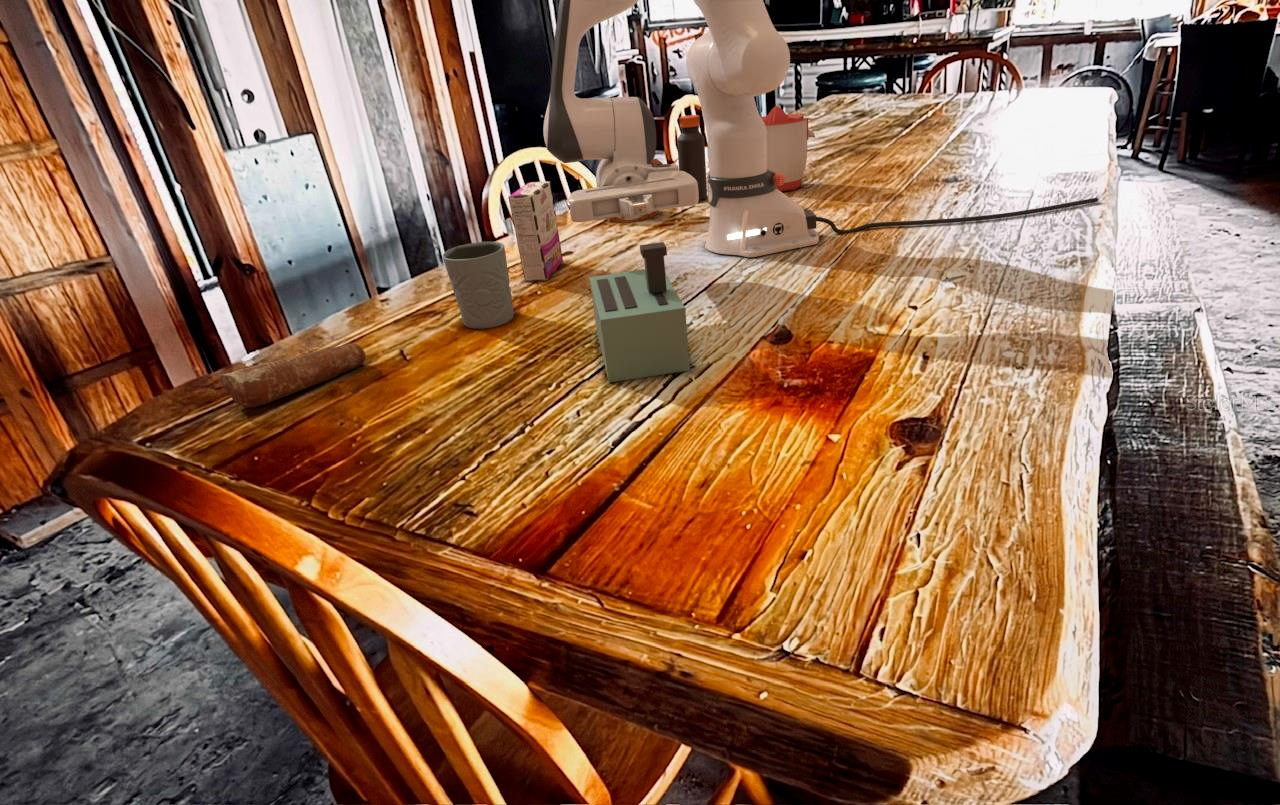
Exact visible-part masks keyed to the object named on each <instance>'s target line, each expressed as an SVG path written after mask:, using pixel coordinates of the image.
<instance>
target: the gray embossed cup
mask: <svg viewBox="0 0 1280 805" xmlns="http://www.w3.org/2000/svg"><path fill="white" fill-rule="evenodd" d="M442 260H443V263H444V266H445V269H446V272H447V275H448V279H449V282H450V285H451V288H452V291H453V294H454V295H455V300H456V303H457V307H458V309H459V313H460V315H461V320H462V323H463V325H464V326H465V327H466V328H468V329H469V328H470V329H474V330H476V329H479V330H482V329H483V330H484V329H492V328H495V327H499V326H502V325H505V324H507V323H509V322H510V321H511V320H513V319H514V317H515V316H514V315H515V312H514V306H513V296H512V290H511V287H510V283H511V282H510V276H509V275H510V274H509V268H508V262H507V255H506V248H505V244H504V243H503V242H500V241H477V242H471V243H467V244H466V243H465V244H462V245H458V246H455V247H452V248H449V249H448V250H446V251H445V252H443V253H442Z"/></svg>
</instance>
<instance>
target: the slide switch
mask: <svg viewBox="0 0 1280 805" xmlns="http://www.w3.org/2000/svg"><path fill="white" fill-rule="evenodd" d="M667 250H668V249H667V246H666V244H665V243H664V242H663V241H660V242H653V243H646V244H639V251H640V255H641V257H642V259H643V260H644V269H645V271H646V281H647V289H648V292H649V294H652V293H659V292H666V291H667V288H666V276H667V275H666V276H665V274H666V266H665V265H666V264H665V257H667V256H668V251H667Z"/></svg>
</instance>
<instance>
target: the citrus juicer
mask: <svg viewBox="0 0 1280 805" xmlns="http://www.w3.org/2000/svg"><path fill="white" fill-rule="evenodd" d="M760 117H761V119H762V120H763V122H764V123H765V126H766V129H767V169H768V170H770V171H772V172H774V173H776V174H777V173H780V174H782V175H784V177H785V178H784V179H786V180H784V181H785V182H783V183H784V184H783V185H781V186H779V185H777V188H776V189H778V190H779V191H781V192H785V191H794V190H796V189H797V188H799V187H800V186H801V183H802V181H803V178H804V174H805V171H806V166H807V159H808V141H809V138H815V139H816V135H815V132H813V131H811V130H810V129H809V117H806V118H805V116H804V114H800V113H799V114H797V113H795V114H794V113H792V114H791V113H789V114H788V113H786V112H785V110H783V108H781V107H780V106H779V105H775V106H774V107H772V109H771V110H770V112H769V113H768V114H767V115H764V116H760Z"/></svg>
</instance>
